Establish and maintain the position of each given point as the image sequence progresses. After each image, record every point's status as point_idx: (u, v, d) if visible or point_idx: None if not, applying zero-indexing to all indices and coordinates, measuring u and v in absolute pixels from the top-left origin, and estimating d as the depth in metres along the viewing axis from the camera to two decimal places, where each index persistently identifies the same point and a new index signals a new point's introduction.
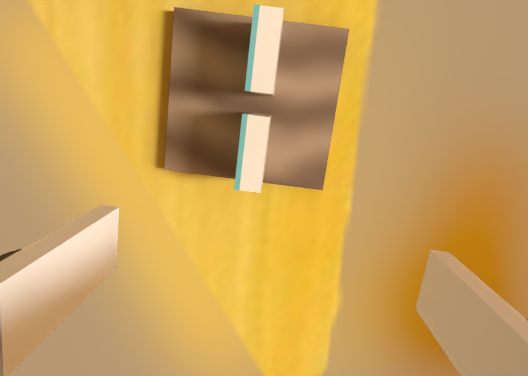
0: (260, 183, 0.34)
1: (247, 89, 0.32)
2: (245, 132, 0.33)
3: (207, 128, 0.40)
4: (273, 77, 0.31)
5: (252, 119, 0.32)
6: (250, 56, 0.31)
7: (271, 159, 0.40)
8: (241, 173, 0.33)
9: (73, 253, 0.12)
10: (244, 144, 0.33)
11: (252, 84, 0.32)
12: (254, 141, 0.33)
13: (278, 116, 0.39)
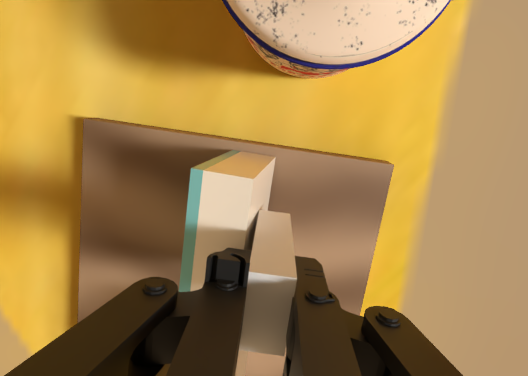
0: None
1: None
2: None
3: None
4: None
5: None
6: (185, 266, 0.15)
7: (253, 362, 0.24)
8: None
9: None
10: None
11: None
12: None
13: None
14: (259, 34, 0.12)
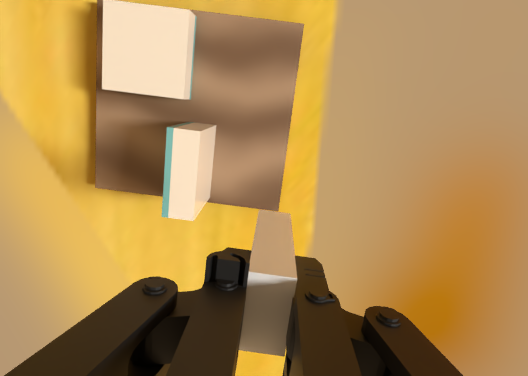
0: (192, 209, 0.28)
1: None
2: (172, 149, 0.27)
3: (142, 140, 0.34)
4: (102, 71, 0.30)
5: (179, 134, 0.27)
6: None
7: (218, 176, 0.34)
8: (169, 198, 0.28)
9: None
10: (171, 163, 0.27)
11: None
12: (182, 160, 0.27)
13: (224, 126, 0.33)
14: None
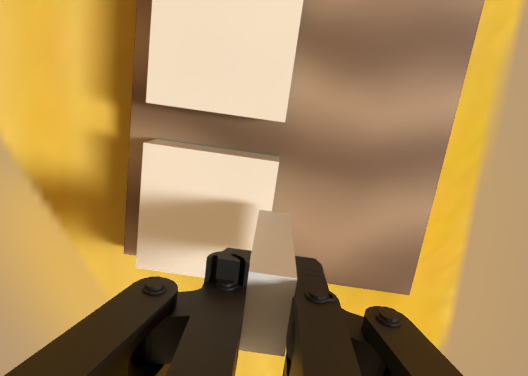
0: (137, 252, 0.20)
1: None
2: None
3: None
4: (148, 73, 0.18)
5: None
6: None
7: (319, 240, 0.22)
8: None
9: None
10: None
11: None
12: None
13: (336, 164, 0.21)
14: None
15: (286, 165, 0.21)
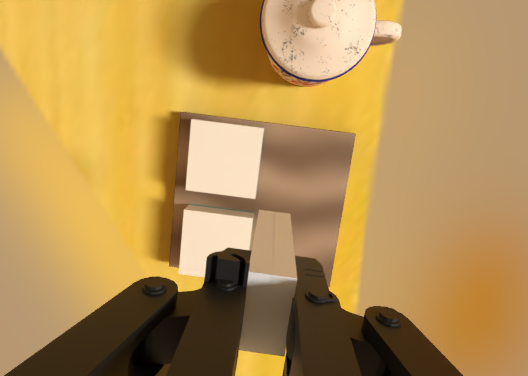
0: (179, 265, 0.38)
1: None
2: None
3: None
4: None
5: None
6: None
7: None
8: None
9: None
10: None
11: None
12: None
13: None
14: (284, 67, 0.29)
15: None
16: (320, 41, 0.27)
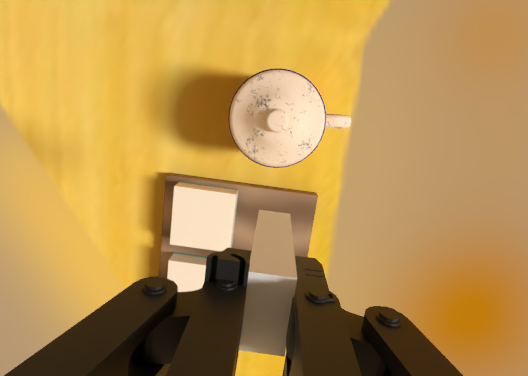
0: None
1: None
2: None
3: None
4: None
5: None
6: None
7: None
8: None
9: None
10: None
11: None
12: None
13: None
14: (249, 157, 0.34)
15: None
16: (276, 141, 0.32)
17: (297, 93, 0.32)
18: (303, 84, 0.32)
